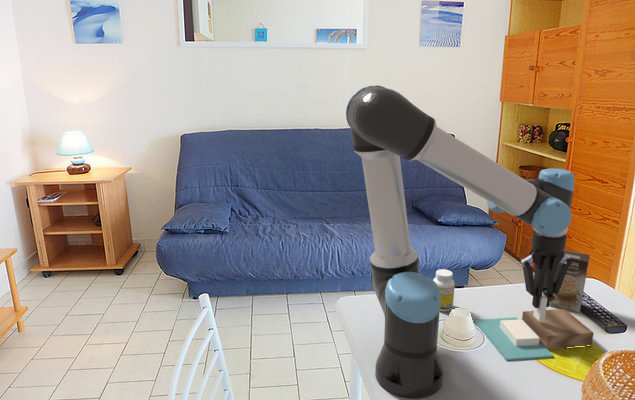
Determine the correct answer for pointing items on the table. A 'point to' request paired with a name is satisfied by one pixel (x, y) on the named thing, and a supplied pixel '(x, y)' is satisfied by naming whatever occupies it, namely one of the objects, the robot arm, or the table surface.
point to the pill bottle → (445, 288)
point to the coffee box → (572, 283)
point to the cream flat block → (519, 332)
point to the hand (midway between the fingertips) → (538, 318)
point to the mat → (510, 342)
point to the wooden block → (559, 329)
